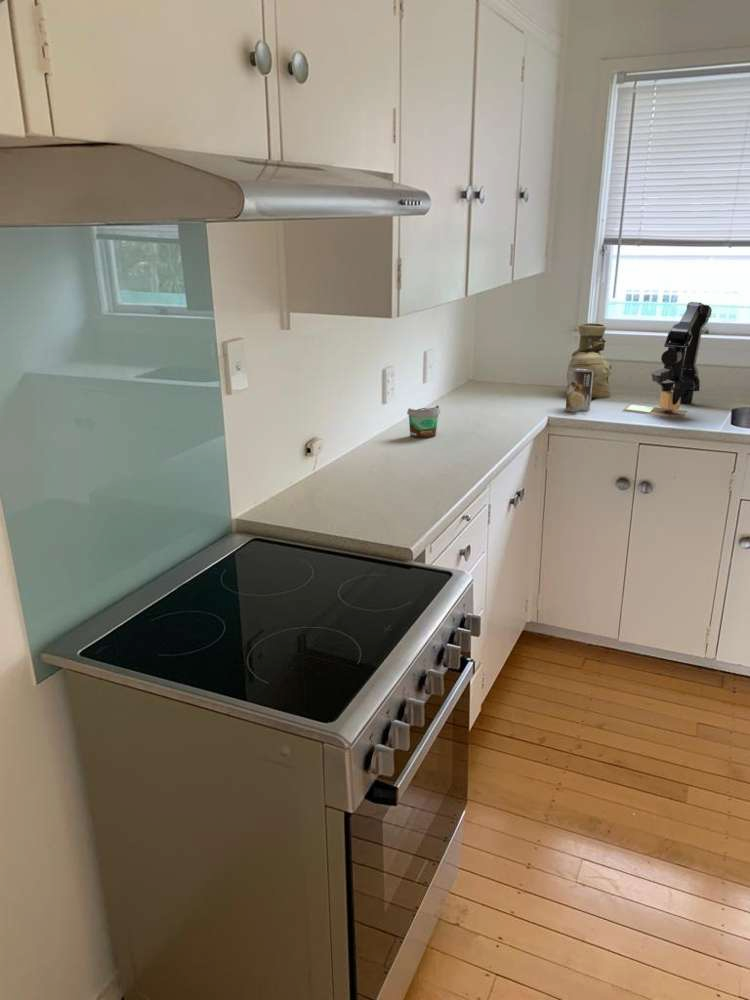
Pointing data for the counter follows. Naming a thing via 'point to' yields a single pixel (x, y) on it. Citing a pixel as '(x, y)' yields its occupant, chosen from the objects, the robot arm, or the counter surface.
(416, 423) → the food container
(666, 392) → the box
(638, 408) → the pad
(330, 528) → the counter surface
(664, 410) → the clear cylinder
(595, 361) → the ceramic vessel
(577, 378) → the coffee box
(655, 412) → the board
